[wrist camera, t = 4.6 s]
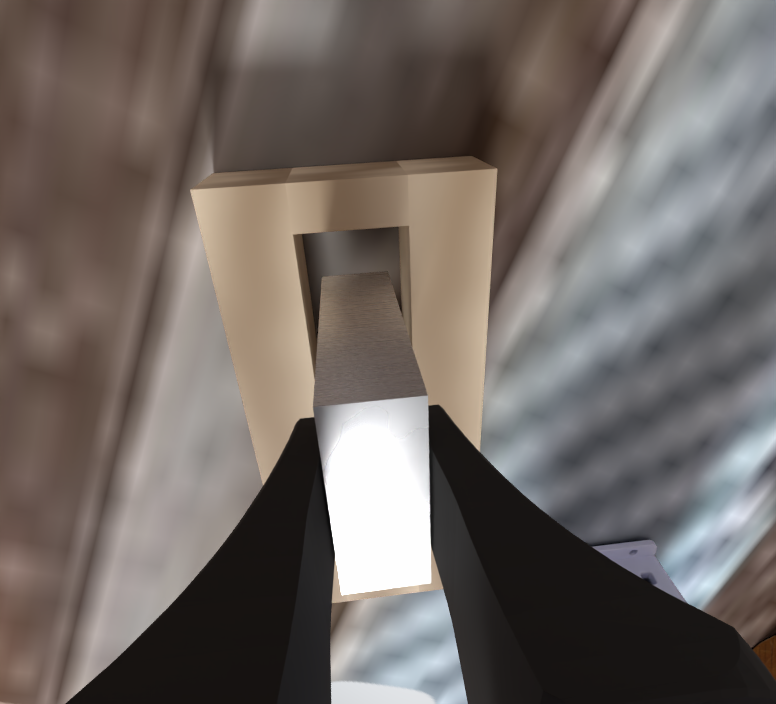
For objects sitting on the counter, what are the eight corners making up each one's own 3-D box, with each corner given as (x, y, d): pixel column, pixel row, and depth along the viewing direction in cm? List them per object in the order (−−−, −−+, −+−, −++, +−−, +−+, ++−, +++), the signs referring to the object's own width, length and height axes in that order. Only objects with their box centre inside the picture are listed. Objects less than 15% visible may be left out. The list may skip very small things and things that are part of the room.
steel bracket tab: (387, 271, 14) (428, 395, 8) (395, 407, 17) (430, 583, 11) (322, 276, 14) (312, 407, 8) (339, 412, 17) (341, 595, 10)
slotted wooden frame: (471, 155, 17) (497, 168, 14) (457, 536, 27) (471, 585, 24) (213, 173, 16) (190, 189, 14) (297, 555, 26) (293, 607, 23)
